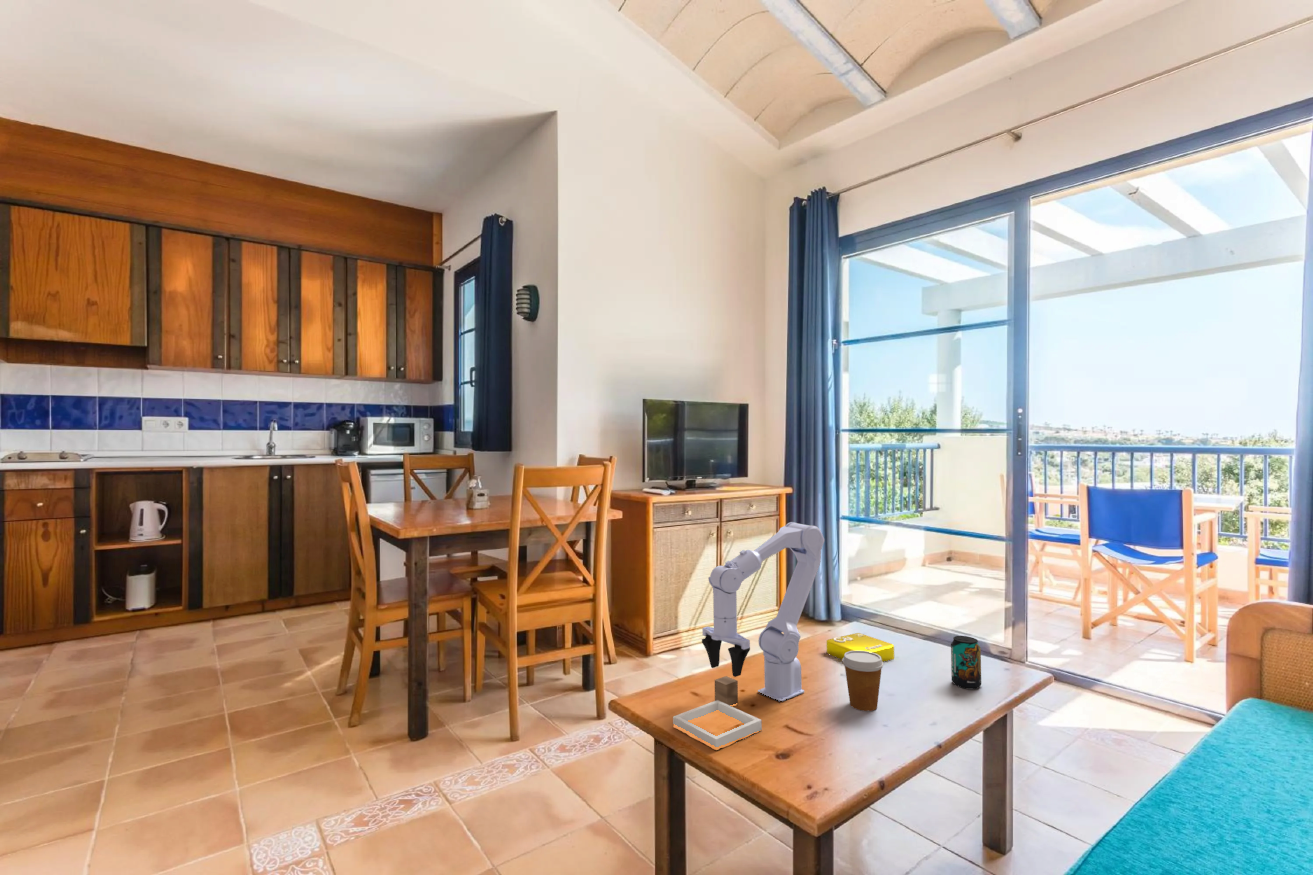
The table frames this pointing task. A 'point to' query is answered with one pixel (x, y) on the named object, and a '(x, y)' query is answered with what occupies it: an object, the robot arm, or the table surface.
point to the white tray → (748, 728)
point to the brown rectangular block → (726, 690)
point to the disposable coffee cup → (863, 678)
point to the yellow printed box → (860, 646)
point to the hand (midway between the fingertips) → (725, 671)
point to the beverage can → (966, 662)
